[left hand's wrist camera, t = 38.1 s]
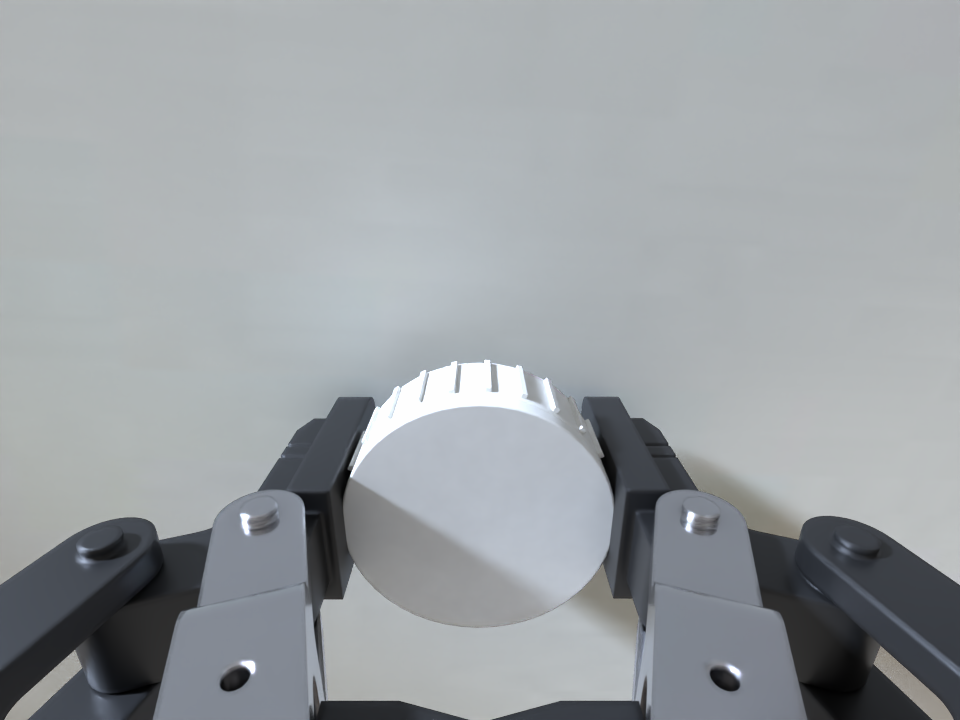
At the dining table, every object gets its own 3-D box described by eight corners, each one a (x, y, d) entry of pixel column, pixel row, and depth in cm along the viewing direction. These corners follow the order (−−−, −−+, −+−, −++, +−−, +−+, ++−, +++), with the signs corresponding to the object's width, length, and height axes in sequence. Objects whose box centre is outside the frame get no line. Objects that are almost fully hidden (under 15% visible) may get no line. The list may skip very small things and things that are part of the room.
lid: (383, 572, 12) (367, 642, 10) (334, 372, 10) (305, 417, 8) (602, 551, 12) (623, 619, 10) (593, 343, 10) (616, 383, 8)
